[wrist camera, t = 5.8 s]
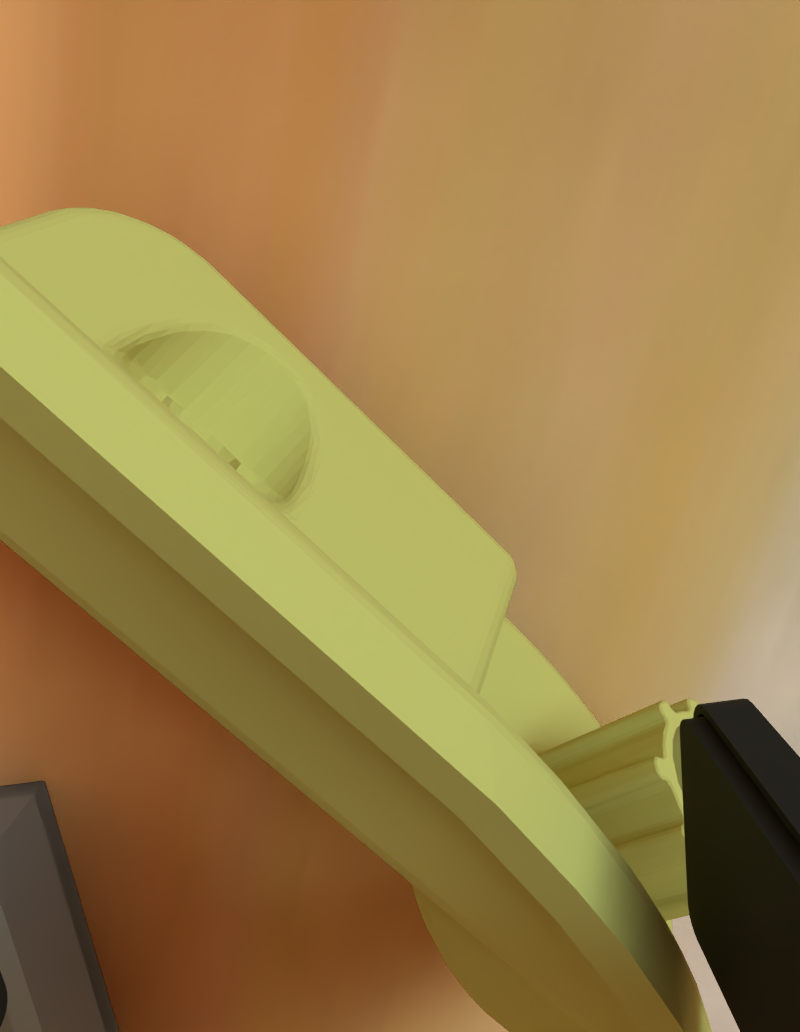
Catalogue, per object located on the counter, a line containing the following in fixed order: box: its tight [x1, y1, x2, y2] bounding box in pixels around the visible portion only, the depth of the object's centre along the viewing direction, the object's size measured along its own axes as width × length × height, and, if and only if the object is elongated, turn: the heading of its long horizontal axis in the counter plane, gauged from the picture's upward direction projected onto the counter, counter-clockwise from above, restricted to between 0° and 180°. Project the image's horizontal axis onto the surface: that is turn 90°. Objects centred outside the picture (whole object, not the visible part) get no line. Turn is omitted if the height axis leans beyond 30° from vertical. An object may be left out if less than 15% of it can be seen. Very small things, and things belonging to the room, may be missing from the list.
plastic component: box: [0, 208, 712, 1032], centre depth 13 cm, size 20×7×10 cm, turn 46°
